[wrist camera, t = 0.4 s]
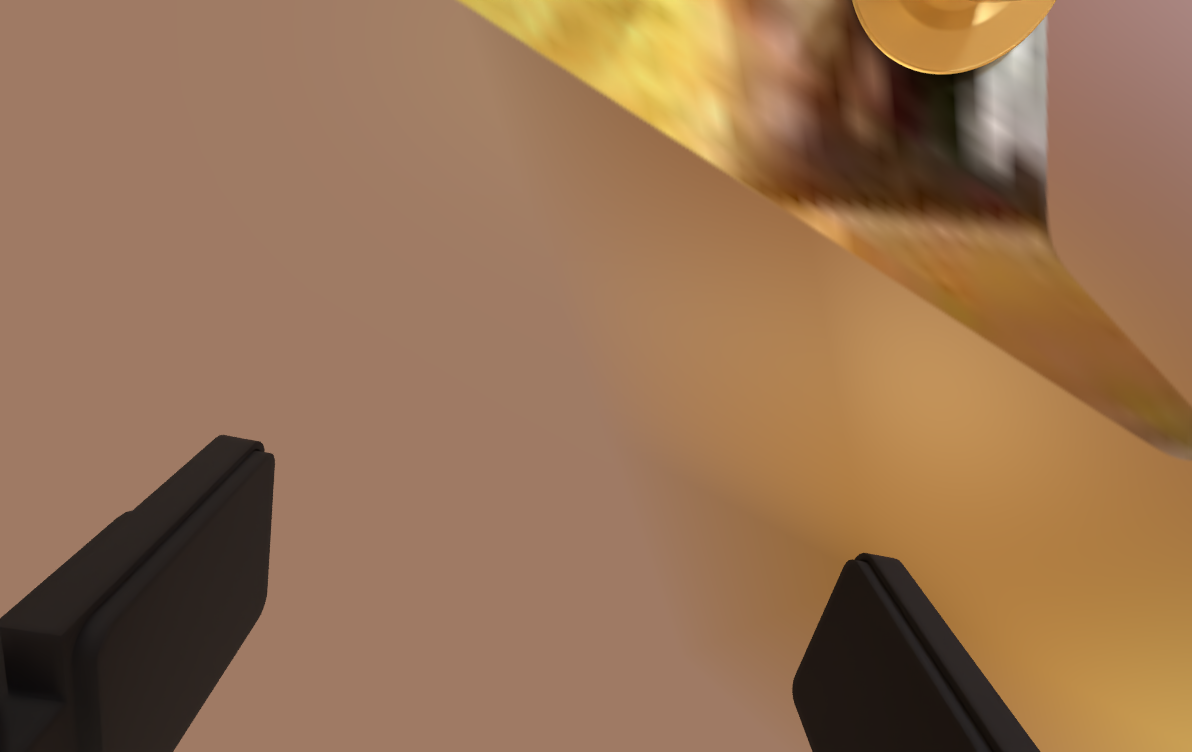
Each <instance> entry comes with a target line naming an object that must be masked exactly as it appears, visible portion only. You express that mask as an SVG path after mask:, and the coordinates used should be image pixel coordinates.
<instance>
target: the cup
mask: <svg viewBox="0 0 1192 752" xmlns="http://www.w3.org/2000/svg"><path fill="white" fill-rule="evenodd" d="M1055 1H1056V0H852V2H853V5H854V9H855V11H856V14H857V16H858V19H859V21H860V23H861V25H862V27H863V28H864V30H865V32H866V33H867V35H868V36H869V38H870V39H871V40H872V42H873V43H874V44H875V45H876V46H877V47H878V48H879V49H880V50H881V51H882V52H883V53H884V54H885V55H887V56H888V57H889V58H891V59H892V60H894V61H895V62H897V63H899V64H901V65H903V66H905V67H907V68H910V69H912V70H915V71H919V72H923V73H929V74H954V73H960V72H965V71H969V70H972V69H976V68H978V67H981V66H984V65H986V64H988V63H990V62H992V61H994V60H996V59H998V58H1000V57H1001V56H1003V55H1004V54H1006V53H1007V52H1009V51H1010V50H1012V49H1013V48H1014V47H1016V46H1017V45H1018V44H1019V43H1021V42H1022V41H1023V40H1024V39H1025V38H1026V37H1027V36H1028V35H1029V34H1030V33H1031V32H1032V31H1033V30H1034V29H1035V28H1036V27H1037V26H1038V25H1039V23H1040V22H1041V21H1042V20H1043V19H1044V17H1045V16H1046V15H1047V13H1048V12H1049V10H1050V9H1051V8H1052V6H1053V5H1054V3H1055Z"/></svg>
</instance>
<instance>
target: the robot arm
mask: <svg viewBox="0 0 1192 752" xmlns="http://www.w3.org/2000/svg"><path fill="white" fill-rule="evenodd" d="M274 468H275V459H274V455H273V454H271V453H266V452H264V446H263V444H262V443H261V442H259V441H253V440H248V439H242V438H237V437H231V436H226V435H220V436H218V437H217V438H215V439H214V440H213V441H212V442H211V443H210V444H208V445H207V446H206V447H205V448H204V449H203V450H201V451H200V452H199V453H198V454H197V455H196V456H195V457H193V458H192V459H191V460H190V461H189V462H188V463H187V464H186V465H184V466H183V467H182V468H181V469H180V470H179V471H177V472H176V473H175V474H174V475H173V476H172V477H170V479H168V480H167V481H166V482H165V483H164V484H162V485H161V486H160V487H159V488H158V489H157V490H156V491H154V492H153V493H152V494H151V495H150V496H149V497H148V498H146V499H145V500H144V501H143V502H142V503H141V504H140V505H138V506H137V507H136V508H135V509H134V510H133V511H129V512H125V513H124V514H122V515H121V516H120V517H118V518H116V519H115V520H114V521H113V522H112V523H111V524H109V525H108V526H107V527H106V528H105V529H104V530H102V531H101V532H100V533H99V534H98V535H97V536H95V537H94V538H93V539H92V540H91V541H90V542H89V543H87V544H86V545H85V546H84V547H83V548H82V549H81V550H79V551H78V552H77V553H76V554H75V555H73V556H72V557H71V558H70V559H69V560H68V561H66V562H65V563H64V564H63V565H62V566H61V567H59V568H58V569H57V570H56V571H55V572H54V573H53V574H51V575H50V576H49V577H48V578H47V579H46V580H44V581H43V582H42V583H41V584H40V585H39V586H37V587H36V588H35V589H34V590H33V591H32V592H30V593H29V594H28V595H27V596H26V597H25V598H24V599H22V600H21V601H20V602H19V603H18V604H17V605H15V606H14V607H13V608H12V609H11V610H9V611H8V612H7V613H6V614H5V615H4V616H2V617H1V618H0V752H173V751H174V749H175V748H176V746H177V745H178V743H179V742H180V740H181V738H182V737H183V735H184V734H185V732H186V731H187V729H188V727H189V726H190V724H191V723H192V721H193V719H194V718H195V717H196V715H197V713H198V712H199V710H200V709H201V707H202V706H203V704H204V703H205V701H206V699H207V698H208V696H209V695H210V693H211V692H212V690H213V689H214V687H215V686H216V684H217V682H218V681H219V679H220V678H221V676H222V675H223V673H224V671H225V670H226V668H227V667H228V665H229V664H230V662H231V661H232V659H233V657H234V656H235V654H236V653H237V651H238V650H239V648H240V647H241V645H242V643H243V642H244V640H245V639H246V637H247V635H248V634H249V633H250V631H251V629H252V628H253V626H254V625H255V623H256V622H257V620H258V618H259V616H260V615H261V612H262V610H263V607H264V604H265V601H266V597H267V586H268V569H269V553H270V535H271V519H272V502H273V501H272V500H273V484H274ZM792 693H793V699H794V703H795V706H796V708H797V711H798V714H799V717H800V719H801V722H802V725H803V727H804V730H805V733H806V735H807V738H808V741H809V743H810V746H811V749H812V751H813V752H1040V751H1039V749H1038V748H1037V747H1036V745H1035V744H1034V743H1033V741H1032V740H1031V739H1030V737H1029V736H1028V734H1027V733H1026V732H1025V730H1024V729H1023V728H1022V726H1021V725H1020V724H1019V722H1018V721H1017V719H1016V718H1015V717H1014V715H1013V714H1012V713H1011V711H1010V710H1009V709H1008V707H1007V706H1006V705H1005V703H1004V702H1003V700H1002V699H1001V698H1000V696H999V695H998V694H997V692H996V691H995V690H994V688H993V687H992V685H991V684H990V683H989V681H988V680H987V678H986V677H985V676H984V674H983V673H982V672H981V670H980V669H979V668H978V666H977V665H976V664H975V662H974V661H973V659H972V658H971V657H970V655H969V654H968V653H967V651H966V650H965V649H964V647H963V646H962V644H961V643H960V642H959V640H958V639H957V638H956V636H955V635H954V634H953V632H952V631H951V630H950V628H949V627H948V625H947V624H946V623H945V621H944V620H943V619H942V617H941V616H940V615H939V613H938V612H937V610H936V609H935V608H934V606H933V605H932V604H931V602H930V601H929V600H928V598H927V597H926V595H925V594H924V593H923V591H922V590H921V589H920V587H919V586H918V584H917V583H916V582H915V580H914V579H913V578H912V576H911V575H910V574H909V572H908V571H907V570H906V568H905V567H904V565H903V564H902V563H901V562H900V561H899V560H897V559H894V558H889V557H884V556H879V555H873V554H868V553H862V554H859V555H858V556H857V557H856V558H855V560H849V561H848V562H846V564H845V565H844V567H843V569H842V572H841V574H840V576H839V579H838V581H837V583H836V585H835V587H834V590H833V592H832V594H831V596H830V599H829V601H828V603H827V605H826V608H825V610H824V612H823V615H822V616H821V619H820V621H819V623H818V626H817V628H816V630H815V632H814V635H813V637H812V639H811V641H810V643H809V646H808V648H807V650H806V652H805V655H804V657H803V659H802V661H801V664H800V666H799V668H798V670H797V673H796V675H795V678H794V680H793V692H792Z"/></svg>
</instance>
